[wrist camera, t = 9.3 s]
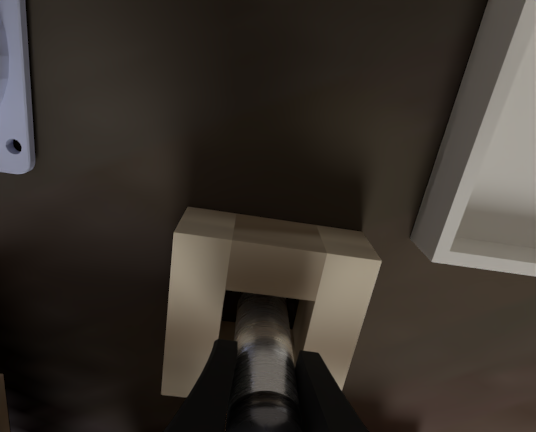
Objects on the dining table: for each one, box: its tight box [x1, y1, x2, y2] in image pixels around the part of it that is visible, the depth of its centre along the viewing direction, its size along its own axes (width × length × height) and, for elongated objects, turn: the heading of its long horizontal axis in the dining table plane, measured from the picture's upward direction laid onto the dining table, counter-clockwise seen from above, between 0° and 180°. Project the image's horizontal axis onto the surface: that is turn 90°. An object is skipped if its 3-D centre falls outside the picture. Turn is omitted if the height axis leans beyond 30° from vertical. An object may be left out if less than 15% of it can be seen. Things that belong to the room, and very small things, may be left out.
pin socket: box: [161, 207, 382, 398], centre depth 14 cm, size 7×7×2 cm
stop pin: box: [226, 292, 303, 432], centre depth 12 cm, size 2×2×6 cm
